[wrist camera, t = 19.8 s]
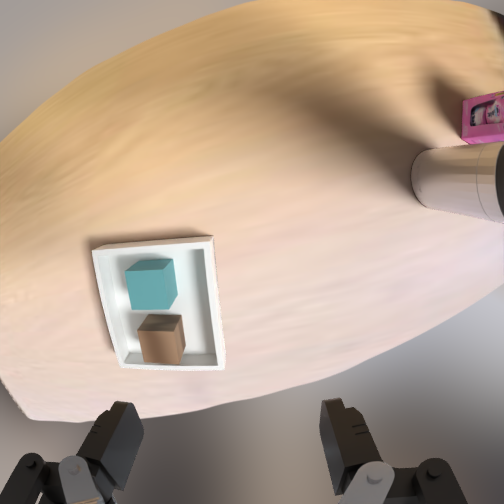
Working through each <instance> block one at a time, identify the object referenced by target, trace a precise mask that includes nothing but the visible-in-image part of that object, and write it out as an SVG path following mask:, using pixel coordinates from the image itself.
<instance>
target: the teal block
mask: <svg viewBox="0 0 504 504" xmlns="http://www.w3.org/2000/svg"><path fill="white" fill-rule="evenodd" d="M124 272H125V278H126V283H127V289H128V294H129V299H130V304H131V309H132V310H169V309H170V307H171V306H172V304H173V302H174V300H175V299H176V297H177V295H178V291H177V284H176V277H175V269H174V261H173V259H162V260H145V261H138V262H136V263H135V264H134V265H132V266H131V267H130V268H128V269H127V270H126V271H124Z"/></svg>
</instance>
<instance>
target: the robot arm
mask: <svg viewBox="0 0 504 504" xmlns="http://www.w3.org/2000/svg"><path fill="white" fill-rule="evenodd" d="M411 182H412V187H413V191H414V193H415V195H416V197H417V198H418V200H419V201H420V202H421V203H422V204H423V205H424V206H426V207H427V208H430V209H434V210H440V211H445V212H450V213H456V214H461V215H466V216H471V217H476V218H480V219H485V220H490V221H494V222H499V223H503V224H504V141H499V142H489V143H478V144H469V145H460V146H452V147H444V148H437V149H430V150H425V151H423V152H421V153H420V154H419V155H418V156H417V157H416V159H415V161H414V163H413V166H412V170H411ZM319 428H320V436H321V440H322V444H323V448H324V452H325V456H326V460H327V464H328V468H329V472H330V476H331V480H332V485H333V489H334V493H335V495H341V494H343V496H342V498H341V500H340V501H339V503H338V504H468V503H467V501H466V499H465V497H464V495H463V492H462V490H461V488H460V486H459V484H458V482H457V480H456V478H455V476H454V474H453V471H452V469H451V467H450V466H449V464H448V463H447V462H446V461H445V460H443V459H440V458H431V459H427V460H425V461H424V462H422V463H421V464H420V465H419V467H416V468H400V469H399V468H393V467H391V466H390V465H388V464H387V463H384V462H383V460H382V459H381V457H380V455H379V452H378V450H377V447H376V445H375V443H374V441H373V438H372V436H371V434H370V432H369V429H368V427H367V425H366V423H365V420H364V418H363V415H362V414H361V413H360V412H359V411H357V410H356V409H355V408H354V407H352V408H346V409H345V407H344V404H343V402H342V399H341V398H335V399H328V400H323V401H322V406H321V415H320V424H319ZM143 435H144V429H143V425H142V423H141V420H140V418H139V416H138V413H137V411H136V409H135V406H134V405H133V403H128V402H121V401H116V402H114V404H113V406H112V407H111V409H110V411H108V410H106V411H105V412H103V413H102V414H101V415H100V416H98V418H97V420H96V421H95V423H94V426H92V428H91V430H90V432H89V433H88V435H87V437H86V439H85V441H84V442H83V444H82V446H81V447H80V449H79V451H78V453H77V454H76V456H69V457H66V458H64V459H63V460H62V461H61V462H60V463H56V462H45V461H44V460H43V459H42V457H41V456H40V455H38V454H36V453H28V454H25V455H24V456H23V457H22V458H21V459H20V461H19V462H18V464H17V466H16V467H15V469H14V471H13V472H12V474H11V476H10V478H9V480H8V482H7V483H6V485H5V487H4V489H3V491H2V492H1V494H0V504H35V503H36V501H37V498H38V496H39V494H40V492H42V493H43V495H42V497H41V499H40V501H39V504H117V502H116V500H115V498H114V496H113V494H112V492H113V490H114V489H118V490H122V491H123V490H124V487H125V485H126V482H127V479H128V476H129V474H130V471H131V468H132V466H133V463H134V460H135V457H136V455H137V452H138V449H139V447H140V444H141V442H142V439H143Z"/></svg>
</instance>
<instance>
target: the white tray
mask: <svg viewBox="0 0 504 504" xmlns="http://www.w3.org/2000/svg"><path fill="white" fill-rule="evenodd" d="M92 256H93V262H94V267H95V273H96V278H97V283H98V288H99V292H100V297H101V301H102V305H103V310H104V314H105V318H106V321H107V325H108V329H109V333H110V336H111V340H112V343H113V346H114V350H115V353H116V356H117V359H118V362H119V365H120V367H121V368H134V369H152V370H224V369H225V360H226V351H225V342H224V334H223V326H222V317H221V308H220V299H219V289H218V279H217V269H216V259H215V248H214V236H203V237H190V238H176V239H164V240H151V241H139V242H127V243H116V244H105V245H103V246H100V247H98V248H96V249H94V250H92ZM162 259H173V261H174V269H175V277H176V284H177V291H178V295H177V297H176V299H175V300H174V302H173V304H172V306H171V307H170V309H169V310H132V309H131V304H130V299H129V294H128V289H127V283H126V278H125V272H124V271H126V270H127V269H128V268H130V267H131V266H132V265H134V264H135V263H136V262H138V261H145V260H162ZM148 314H159V315H182V321H183V328H184V336H185V342H186V346H185V349H184V352H183V355H182V358H181V361H180V364H163V363H148V362H144V359H143V355H142V351H141V347H140V342H139V337H138V333H137V330H138V328H139V327H140V325H141V324H142V323H143V321H144V320H145V318H146V317H147V315H148Z"/></svg>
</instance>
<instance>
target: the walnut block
mask: <svg viewBox="0 0 504 504" xmlns="http://www.w3.org/2000/svg"><path fill="white" fill-rule="evenodd" d="M137 333H138V337H139V342H140V347H141V351H142V355H143V359H144V362H148V363H163V364H180V361H181V358H182V355H183V352H184V349H185V346H186V342H185V336H184V328H183V321H182V315H159V314H148V315H147V317H146V318H145V320H144V321H143V323H142V324H141V325H140V327H139V328H138V330H137Z"/></svg>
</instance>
